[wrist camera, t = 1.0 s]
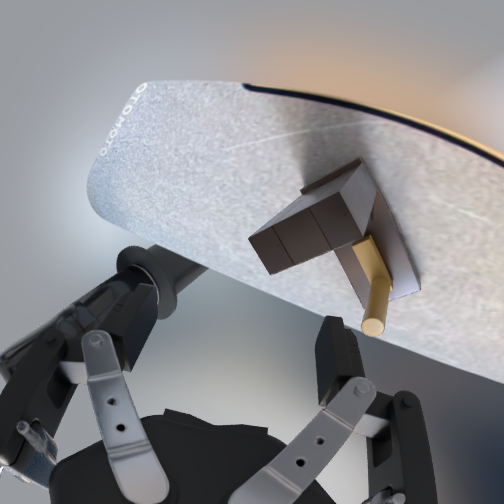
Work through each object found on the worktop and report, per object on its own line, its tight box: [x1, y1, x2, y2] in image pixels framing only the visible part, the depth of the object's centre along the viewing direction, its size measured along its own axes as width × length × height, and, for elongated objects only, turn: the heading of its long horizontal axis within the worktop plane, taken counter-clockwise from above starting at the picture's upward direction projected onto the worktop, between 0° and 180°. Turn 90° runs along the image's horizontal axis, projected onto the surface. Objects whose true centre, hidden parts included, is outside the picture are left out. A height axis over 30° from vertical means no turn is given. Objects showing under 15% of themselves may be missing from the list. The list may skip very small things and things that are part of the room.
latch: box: [248, 157, 421, 309], centre depth 24 cm, size 15×7×14 cm, turn 36°
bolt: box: [352, 235, 393, 337], centre depth 25 cm, size 6×2×8 cm, turn 36°
